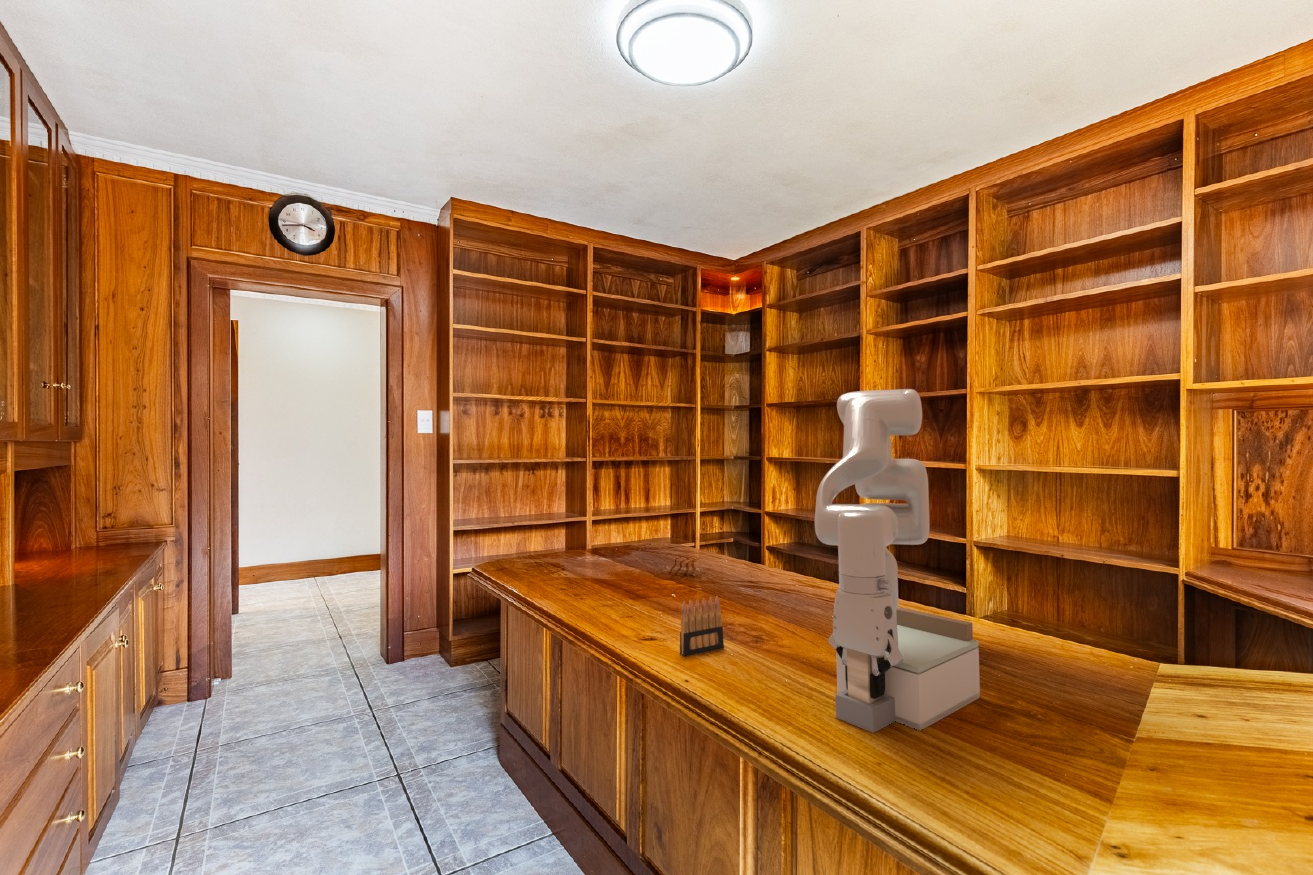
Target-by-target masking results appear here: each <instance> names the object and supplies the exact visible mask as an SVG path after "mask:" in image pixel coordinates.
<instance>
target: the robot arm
mask: <svg viewBox="0 0 1313 875" xmlns="http://www.w3.org/2000/svg"><path fill="white" fill-rule="evenodd" d="M922 407H923V406H922V400H921V397H920V395H919V393H918V391H917V390H916V389H913V388H903V389H902V388H899V389H898V388H897V389H879V390H878V389H876V390H874V389H873V390H871V389H870V390H859V391H858V390H857V391H851V392H847V393H843V394H841V395H840V396H839V397H838V399H837V402H836V408H837V413H838V416H839V419H840V421H841V423H842V424H843V445H842V458H841V459H840V460H838V461H837V462H836V463H835V464H834V465H833V466H832V467H831V468H830V469H829V470H828V471H827V472H826V474H825V475H824V477H823V478H822V480H821V481H820V483H819V486H818V488H817V492H816V501H815V510H814V511H815V512H814V532H815V535H816V538H817V539H818V540H819V541H820V542H821V543H822V544H825V545H828V546H837V550H838V552H837V553H838V585H839V586H838V587H839V588H837V589H836V593H835V597H834V604H833V617H832V619H833V620H832V632H831V634H830V636H829V638H828V639H827V641H828V643H829V645H830V646H832V648H833V649H834V650H835V652H836V651H837V653H838V655H839V656H840V657H841V659H842V664H843V665H844V666H845V679H846V689H847V690H848V676H847V648H848V649H852V650H855V651H858V652H862V653H865V654H868V655H870V661H871V667H872V672H873V673H872V674H870V696H871V698H872V699H876V698H878V697H880V696H882V695H884V692H885V672H887V671H888V670H889V669H890V668H891V667H892V666H894V665H896V664H898V663H900V662H903V660H904V659H903V657H902V655H901V653H900V651H899V649H898V631H897V614H896V609H899V582H898V581H899V579H898V578H899V574H898V572H899V571H898V569H899V568H898V563H897V560H896V558H895V556H894V554H892V552H891V551H890V550H889V549H888V548H887V547H888V546H890V545H909V546H910V545H911V546H914V545H917V546H918V545H922V544H924V543H926V542H927V541H928V539H929V536H930V504H929V503H930V500H929V479H928V478H929V477H928V473H927V468H926V466H925V464H924V463H923V462H922V461H920V460H918V459H914V458H894V457H893V454H892V453H893V452H892V438H891V436H914V435H916V434H918V432H919V431H920V430H921V427H922V423H923V422H922V421H923V408H922ZM851 486H855V487H854V488H855V490H856V493H857V495H858V496H859V497H861V498H862V499H867V500H876V501H877V500H882V501H885V500H886V501H887V500H890V501H892V500H894V501H905V502H906V503H894V502H893V503H891V502H866V503H861V504H858V503H857V504H856V503H854V504H852V503H844V504H843V503H834V504H833V501H834V500H835V498H836V496H837V495H839V493H841V492H842V491H844V490H845V489H847V488H849V487H851ZM885 651H886V652H889V654H890V658H889V659H886V654H885ZM878 659H879V661H878Z"/></svg>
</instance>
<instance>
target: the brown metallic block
mask: <svg viewBox="0 0 1313 875" xmlns="http://www.w3.org/2000/svg"><path fill="white" fill-rule="evenodd" d="M878 661H879V659H878ZM872 673H873V672H872V667H871V661H870V655H868V654H865V653H862V652H858V651H855V650H852V649H848V648H847V676H848V696H849V697H852V698H854V699H857V700H860V701H863V702H865V703H868V704H873V703H875V702H877V701H879V700H881V699H883V695H882V696H880V697H878V698H876V699H872V698H871V696H870V674H872Z"/></svg>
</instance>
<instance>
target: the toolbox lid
mask: <svg viewBox="0 0 1313 875" xmlns="http://www.w3.org/2000/svg"><path fill="white" fill-rule="evenodd" d="M896 614H897V631H898V649H899V651H900V653H901V655H902V657H903V659H904V660H903V662H900V663H898V664H896V665H894V666H896V667H899V668H902V669H906V670H909V671H912V672H916V673H920V672H922V671H925V670H927V669H929V668H931V667H934V666H936V665H938V664H940V663H942V662H945V661H947V660H949V659H951V658H953V657H956V656H958V655H960V654H962V653H964V652H967V651H969V650H971V649H973V648H975V647H978V648H979V640H978V639H974V636H973V635H974V632H973V622H971V621H966V620H961V619H956V618H952V617H948V616H943V615H938V614H933V613H929V612H924V611H919V610H915V609H909V608H905V607H900V608H899V609H896ZM885 654H886V659H889V658H890V654H889V652H886V651H885Z"/></svg>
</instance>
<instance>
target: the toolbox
mask: <svg viewBox="0 0 1313 875" xmlns="http://www.w3.org/2000/svg"><path fill="white" fill-rule="evenodd" d="M979 653H980V650H979V646H978V647H975V648H973V649H971V650H969V651H967V652H964V653H962V654H960V655H958V656H956V657H953V658H951V659H949V660H947V661H945V662H942V663H940V664H938V665H936V666H934V667H931V668H929V669H927V670H925V671H922V672H920V673H916V672H912V671H909V670H906V669H902V668H899V667H896V666H892V667H891V668H890V669H889V670H888V671H887V672H885V692H884V695H883V699H881V700H879V701H877V702H875V703H873V704H868V703H865V702H863V701H860V700H857V699H854V698H852V697H849V696H848V690H847V689H846V679H845V666H844V665H843V664H842V659H841V657H840V656H839V655H838V653H837V651H836V650H835V657H836V659H835V660H836V661H835V662H836V689H837V690H836V692H837V693H835V694H834V696H835V697H834V698H835V718H836V719H838V720H840V721H842V722H844V723H848V724H850V725H853V726H855V727H858V728H860V729H861V730H862V729H863V730H865V731H868V732H869V733H872V734H874V733H877V732H878V731H880V730H882V729H884V728H885V727H888V726H889V724H890V725H892V724H893V723H899V724H900V723H901V725H903V724H905V725H904V726H906V727H909V728H911V729H914V728H915V729H914V730H916V729H917V731H923V730H924V729H926V728H929V726H931V725H934V724H935V723H937V722H939V721H940V720H942V719H943V718H945V717H948V716H949V715H951V714H953V713H955V712H957V711H959V710H960V709H962V708H965V706H968V705H969V704H971V703H973V702H975V701H976V700H978V699H980V698H981V691H980V690H981V688H980V654H979ZM895 721H896V722H895ZM891 723H892V724H891ZM922 729H923V730H922Z"/></svg>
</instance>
